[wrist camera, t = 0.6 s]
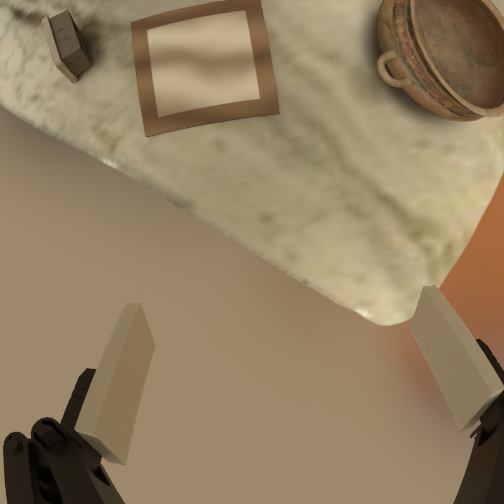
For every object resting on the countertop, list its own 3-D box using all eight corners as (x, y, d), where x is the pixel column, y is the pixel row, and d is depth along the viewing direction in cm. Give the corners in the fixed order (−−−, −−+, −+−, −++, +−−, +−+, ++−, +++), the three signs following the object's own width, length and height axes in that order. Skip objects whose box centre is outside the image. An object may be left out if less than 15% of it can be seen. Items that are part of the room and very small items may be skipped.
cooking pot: (440, -12, 24) (486, -35, 12) (493, 93, 30) (547, 95, 19) (311, 22, 28) (339, -19, 17) (384, 150, 34) (438, 161, 23)
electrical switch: (59, 41, 27) (30, 25, 19) (86, 23, 26) (62, 2, 19) (74, 84, 30) (44, 74, 22) (103, 66, 30) (78, 50, 22)
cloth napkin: (132, 23, 27) (130, 22, 26) (259, -2, 27) (259, -4, 26) (147, 136, 33) (145, 136, 32) (279, 113, 33) (279, 113, 32)
